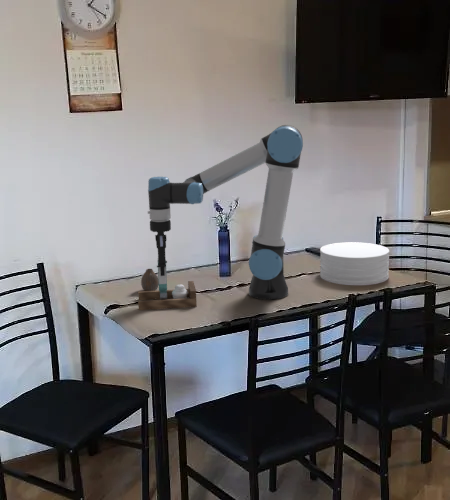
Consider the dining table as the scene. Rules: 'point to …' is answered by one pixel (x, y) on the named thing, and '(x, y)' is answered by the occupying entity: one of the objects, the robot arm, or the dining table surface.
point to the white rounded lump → (179, 292)
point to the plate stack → (354, 263)
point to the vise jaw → (162, 288)
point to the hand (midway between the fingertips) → (162, 282)
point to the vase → (149, 281)
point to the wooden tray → (168, 302)
